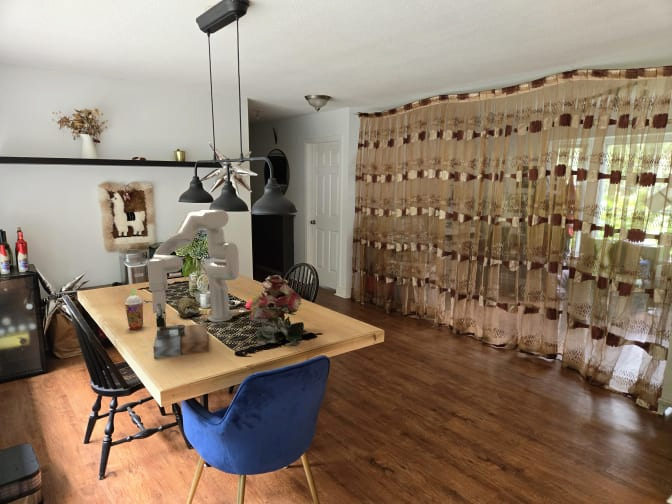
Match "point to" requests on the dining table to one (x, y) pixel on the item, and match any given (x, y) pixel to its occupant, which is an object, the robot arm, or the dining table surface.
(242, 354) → the dining table surface
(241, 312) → the dining table surface
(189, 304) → the mineral specimen
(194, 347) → the lever switch panel
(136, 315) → the smoothie
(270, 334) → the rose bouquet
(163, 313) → the switch lever
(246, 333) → the dining table surface
